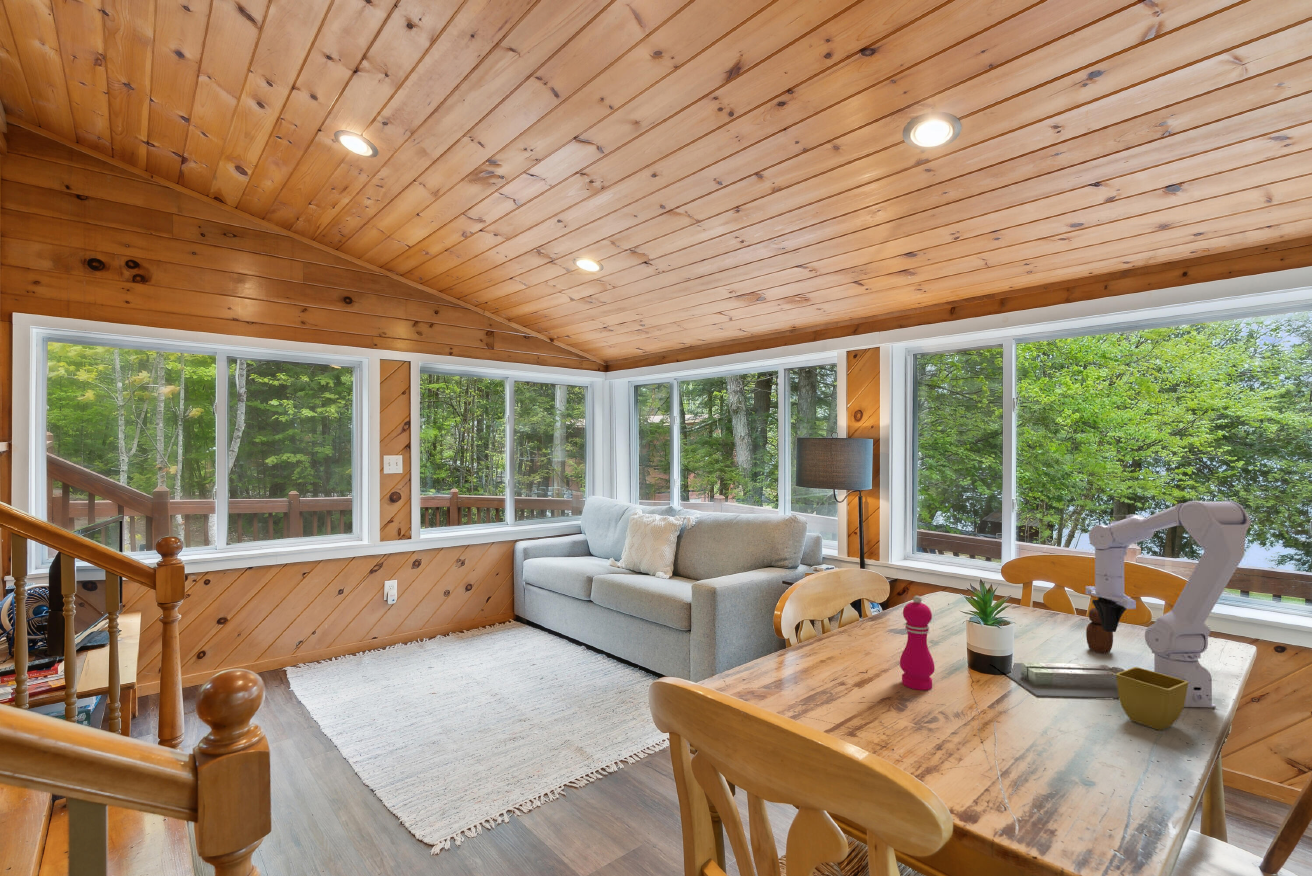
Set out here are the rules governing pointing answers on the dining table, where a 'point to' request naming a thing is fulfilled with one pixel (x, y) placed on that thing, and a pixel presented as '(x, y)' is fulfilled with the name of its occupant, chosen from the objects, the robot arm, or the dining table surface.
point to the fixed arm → (1072, 678)
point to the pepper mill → (917, 647)
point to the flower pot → (1151, 697)
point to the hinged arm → (1066, 667)
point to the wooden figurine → (1098, 634)
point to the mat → (1061, 688)
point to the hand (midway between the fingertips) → (1109, 631)
